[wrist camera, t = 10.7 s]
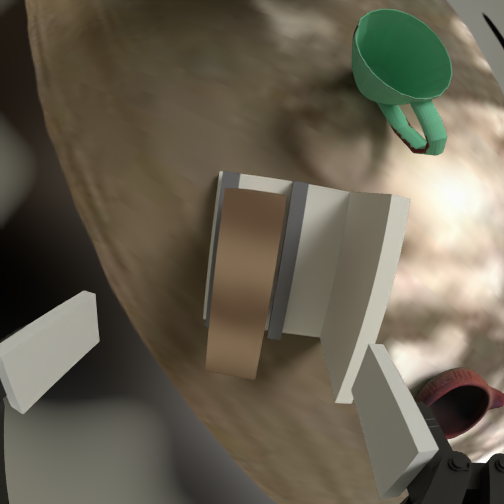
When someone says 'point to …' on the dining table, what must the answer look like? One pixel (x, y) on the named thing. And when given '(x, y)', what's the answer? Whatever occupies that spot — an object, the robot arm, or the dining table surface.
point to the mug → (403, 74)
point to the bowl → (459, 400)
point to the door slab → (243, 280)
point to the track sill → (326, 268)
